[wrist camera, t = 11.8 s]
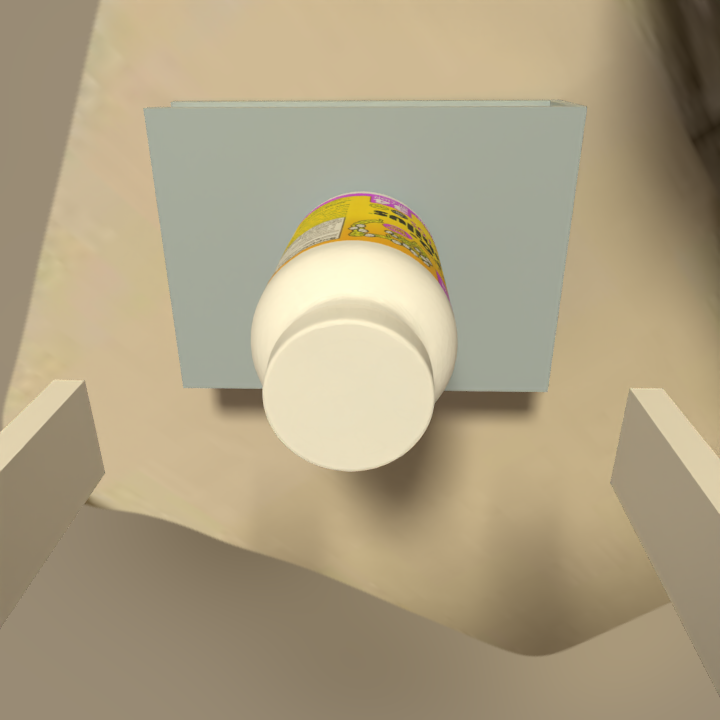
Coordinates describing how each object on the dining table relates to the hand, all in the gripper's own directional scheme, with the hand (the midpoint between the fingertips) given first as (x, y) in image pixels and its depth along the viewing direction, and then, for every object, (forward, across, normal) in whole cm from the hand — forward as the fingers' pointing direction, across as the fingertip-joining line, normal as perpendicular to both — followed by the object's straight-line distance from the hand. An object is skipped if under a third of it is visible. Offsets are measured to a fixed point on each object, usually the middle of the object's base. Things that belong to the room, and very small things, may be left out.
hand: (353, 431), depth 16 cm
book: (+19, 0, 0) cm, 19 cm away
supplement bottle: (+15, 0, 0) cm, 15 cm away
